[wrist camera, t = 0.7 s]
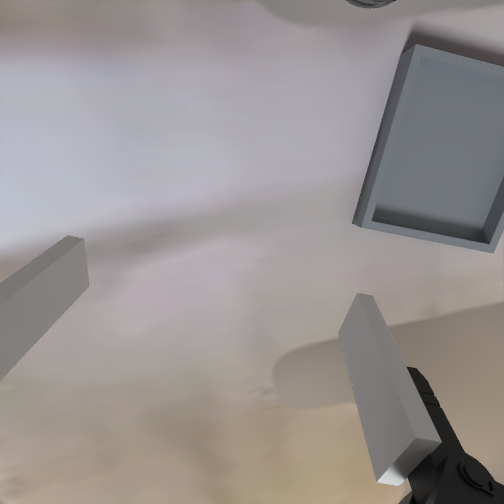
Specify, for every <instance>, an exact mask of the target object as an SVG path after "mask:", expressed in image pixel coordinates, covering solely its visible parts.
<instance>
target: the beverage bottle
mask: <svg viewBox="0 0 504 504" xmlns="http://www.w3.org/2000/svg"><path fill="white" fill-rule="evenodd" d="M346 1H348V2H349V3H351V4H353V5H355V6H358V7H363V8H379V7H382V6H385V5H388V4H390V3H391V2H393V1H396V0H346Z"/></svg>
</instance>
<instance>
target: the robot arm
mask: <svg viewBox="0 0 504 504" xmlns="http://www.w3.org/2000/svg"><path fill="white" fill-rule="evenodd" d="M88 287H89V278H88V269H87V260H86V251H85V242H84V239H83V238H78V237H73V236H66V237H65V238H63V239H62V240H61V241H59V242H58V243H56V244H55V245H54V246H52V247H51V248H49V249H48V250H46V251H45V252H44V253H42V254H41V255H39V256H38V257H37V258H35V259H34V260H32V261H31V262H30V263H28V264H27V265H25V266H24V267H23V268H21V269H20V270H18V271H17V272H16V273H14V274H13V275H11V276H10V277H8V278H7V279H6V280H4V281H3V282H1V283H0V380H1V379H2V378H3V377H4V376H5V375H6V374H7V373H8V372H9V371H10V370H11V369H12V368H13V367H14V366H15V364H16V363H17V362H18V361H19V360H20V359H21V358H22V357H23V356H24V355H25V354H26V353H27V352H28V351H29V350H30V349H31V347H32V346H33V345H34V344H35V343H36V342H37V341H38V340H39V339H40V338H41V337H42V336H43V335H44V334H45V333H46V331H47V330H48V329H49V328H50V327H51V326H52V325H53V324H54V323H55V322H56V321H57V320H58V319H59V318H60V317H61V315H62V314H63V313H64V312H65V311H66V310H67V309H68V308H69V307H70V306H71V305H72V304H73V303H74V302H75V301H76V300H77V298H78V297H79V296H80V295H81V294H82V293H83V292H84V291H85V290H86V289H87V288H88ZM338 335H339V339H340V343H341V347H342V351H343V354H344V358H345V362H346V366H347V370H348V374H349V378H350V381H351V385H352V389H353V393H354V397H355V401H356V404H357V408H358V412H359V416H360V420H361V424H362V428H363V431H364V435H365V439H366V443H367V447H368V451H369V455H370V458H371V462H372V466H373V470H374V474H375V478H376V482H379V483H384V484H390V485H396V486H400V485H401V484H402V483H403V482H404V481H405V480H406V479H407V477H408V480H409V483H410V486H411V489H412V491H411V492H410V493H409V494H408V495H407V496H405V497H404V498H403V499H402V500H401V501H400V503H399V504H504V485H502V484H500V483H498V482H496V481H495V480H494V478H493V477H492V476H491V474H490V473H489V472H488V470H487V469H486V468H485V467H484V466H483V465H482V464H481V463H480V462H479V461H478V460H476V459H475V458H473V457H472V456H470V455H468V454H467V453H465V451H464V450H463V448H462V446H461V444H460V442H459V440H458V438H457V436H456V434H455V433H454V431H453V429H452V427H451V425H450V423H449V421H448V419H447V417H446V415H445V413H444V412H443V410H442V408H440V404H439V402H438V400H437V398H436V397H435V396H434V392H433V391H432V389H431V387H430V385H429V383H428V381H427V380H426V379H425V378H424V376H423V375H422V374H421V373H420V372H419V371H418V370H417V368H412V367H407V366H406V365H405V363H404V361H403V359H402V357H401V355H400V353H399V350H398V348H397V346H396V344H395V342H394V340H393V338H392V336H391V334H390V331H389V329H388V327H387V325H386V323H385V321H384V319H383V317H382V314H381V312H380V310H379V308H378V306H377V304H376V302H375V300H374V298H373V296H371V295H366V294H361V293H357V294H356V297H355V299H354V301H353V303H352V305H351V307H350V309H349V311H348V314H347V316H346V318H345V320H344V322H343V324H342V326H341V328H340V331H339V333H338Z"/></svg>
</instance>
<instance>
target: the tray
mask: <svg viewBox="0 0 504 504" xmlns="http://www.w3.org/2000/svg"><path fill="white" fill-rule="evenodd" d="M352 224H355V225H357V226H359V227H362V228H367V229H372V230H377V231H382V232H387V233H392V234H397V235H402V236H408V237H413V238H418V239H423V240H428V241H433V242H438V243H443V244H448V245H454V246H459V247H464V248H469V249H474V250H479V251H484V252H489V253H494V251H495V249H496V246H497V244H498V242H499V239H500V237H501V235H502V232H503V230H504V67H503V66H499V65H495V64H492V63H488V62H484V61H480V60H476V59H472V58H469V57H465V56H461V55H457V54H453V53H449V52H446V51H442V50H438V49H434V48H430V47H426V46H423V45H419V44H415V45H414V46H412V47H411V48H410V49H408V50H407V51H406V52H404V53H403V54H401V56H400V60H399V63H398V66H397V70H396V73H395V77H394V80H393V84H392V87H391V91H390V94H389V98H388V101H387V104H386V108H385V111H384V115H383V118H382V122H381V125H380V129H379V132H378V135H377V139H376V142H375V146H374V149H373V153H372V156H371V160H370V163H369V166H368V170H367V173H366V177H365V180H364V184H363V187H362V191H361V194H360V198H359V201H358V204H357V208H356V211H355V215H354V218H353V222H352Z"/></svg>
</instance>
